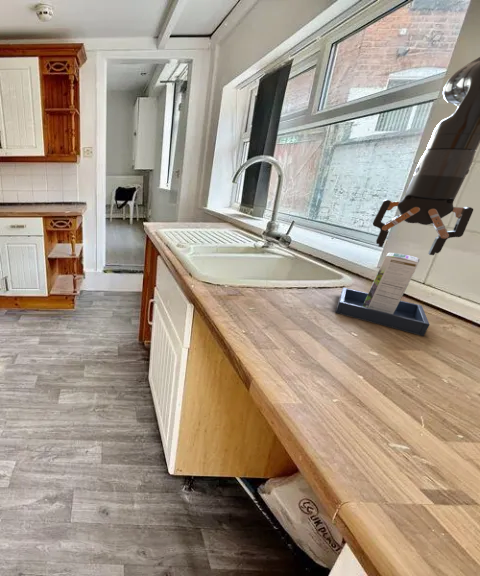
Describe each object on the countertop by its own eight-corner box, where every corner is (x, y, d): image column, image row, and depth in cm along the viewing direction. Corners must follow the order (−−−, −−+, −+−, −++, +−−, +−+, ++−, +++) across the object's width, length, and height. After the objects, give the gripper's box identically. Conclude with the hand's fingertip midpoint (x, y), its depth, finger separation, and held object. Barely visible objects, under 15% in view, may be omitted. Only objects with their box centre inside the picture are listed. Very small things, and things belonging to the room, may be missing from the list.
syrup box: (363, 305, 79) (386, 251, 73) (393, 313, 75) (420, 257, 70) (360, 311, 75) (384, 255, 70) (391, 320, 71) (420, 261, 66)
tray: (416, 315, 76) (421, 305, 75) (423, 336, 66) (429, 324, 65) (339, 297, 85) (343, 287, 84) (335, 312, 75) (339, 301, 74)
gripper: (486, 177, 62) (446, 254, 68) (392, 172, 70) (364, 241, 76) (497, 176, 56) (452, 261, 62) (394, 171, 64) (364, 246, 71)
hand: (404, 250), depth 69 cm, fingers open, 8 cm apart
